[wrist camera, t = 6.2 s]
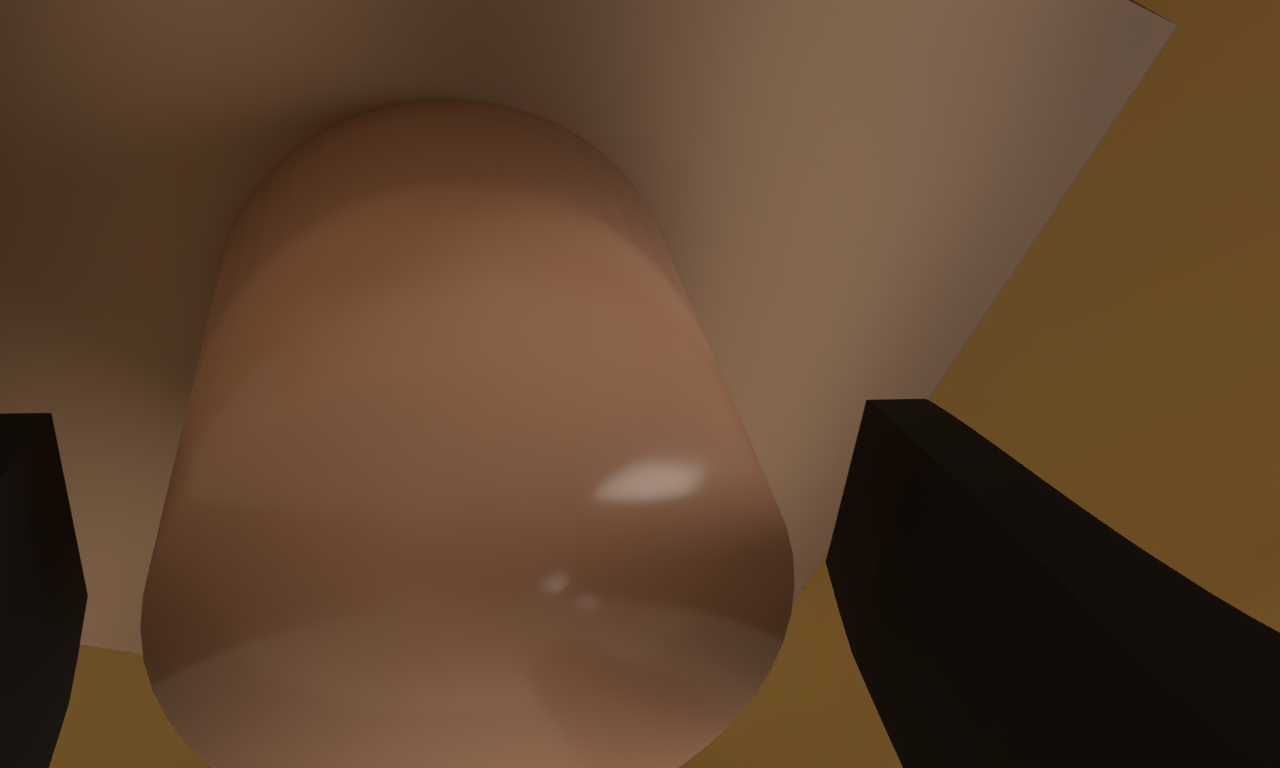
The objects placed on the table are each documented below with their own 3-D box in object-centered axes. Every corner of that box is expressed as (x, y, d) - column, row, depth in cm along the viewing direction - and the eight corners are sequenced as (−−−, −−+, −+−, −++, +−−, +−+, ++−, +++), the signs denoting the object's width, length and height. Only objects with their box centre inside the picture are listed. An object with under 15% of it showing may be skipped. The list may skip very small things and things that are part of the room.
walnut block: (1017, -65, 16) (1178, 25, 13) (649, 570, 22) (697, 746, 18) (79, -548, 12) (-35, -594, 9) (-91, 403, 17) (-202, 597, 14)
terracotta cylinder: (691, 101, 12) (842, 354, 8) (652, 479, 15) (752, 809, 11) (189, 95, 12) (82, 377, 7) (243, 500, 14) (187, 868, 10)
